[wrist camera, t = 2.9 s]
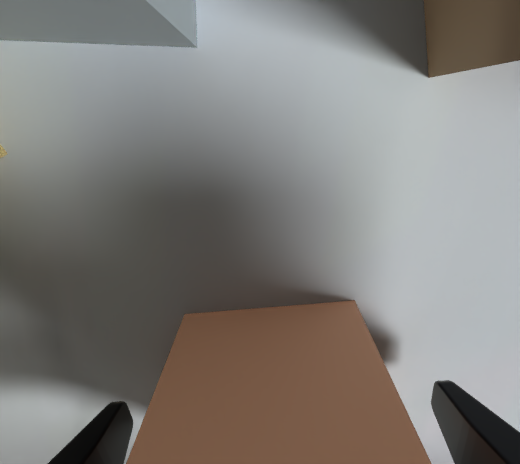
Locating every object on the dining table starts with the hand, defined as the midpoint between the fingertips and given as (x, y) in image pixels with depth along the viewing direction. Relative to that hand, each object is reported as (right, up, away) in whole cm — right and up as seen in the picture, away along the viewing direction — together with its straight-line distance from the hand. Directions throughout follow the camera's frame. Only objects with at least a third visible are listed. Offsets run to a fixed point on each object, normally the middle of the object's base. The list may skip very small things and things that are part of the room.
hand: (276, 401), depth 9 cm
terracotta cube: (0, 0, +1) cm, 1 cm away
